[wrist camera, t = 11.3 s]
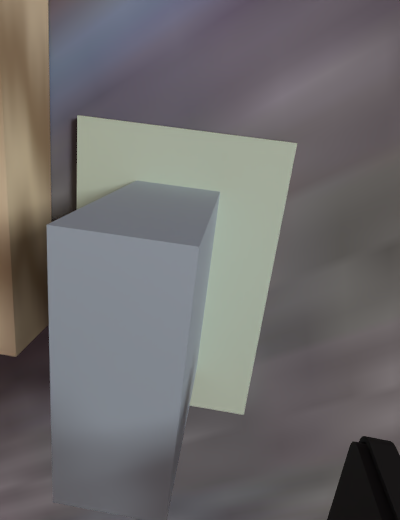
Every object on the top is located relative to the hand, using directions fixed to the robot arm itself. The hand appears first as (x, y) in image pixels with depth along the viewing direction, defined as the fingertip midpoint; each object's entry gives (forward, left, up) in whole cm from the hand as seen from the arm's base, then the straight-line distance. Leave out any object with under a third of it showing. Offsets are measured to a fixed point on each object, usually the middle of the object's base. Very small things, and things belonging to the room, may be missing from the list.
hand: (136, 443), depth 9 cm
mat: (+1, +1, -8) cm, 8 cm away
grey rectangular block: (+1, +1, -8) cm, 8 cm away
